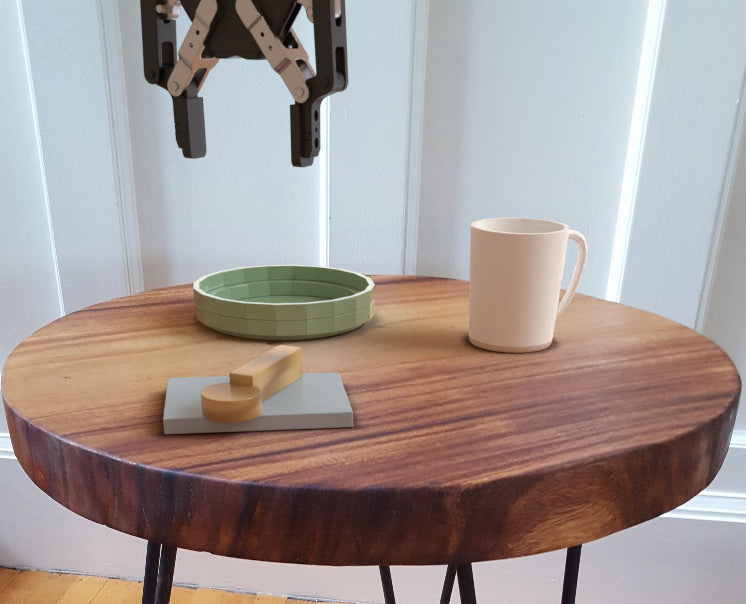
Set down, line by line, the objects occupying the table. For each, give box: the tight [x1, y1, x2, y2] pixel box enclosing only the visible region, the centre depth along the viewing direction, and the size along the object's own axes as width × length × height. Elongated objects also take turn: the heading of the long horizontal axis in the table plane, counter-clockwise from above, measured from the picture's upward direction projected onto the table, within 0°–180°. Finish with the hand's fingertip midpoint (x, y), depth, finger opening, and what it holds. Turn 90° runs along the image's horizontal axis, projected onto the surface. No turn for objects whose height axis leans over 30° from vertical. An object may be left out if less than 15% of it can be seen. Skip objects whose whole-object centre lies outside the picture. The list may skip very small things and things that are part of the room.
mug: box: [468, 217, 589, 354], centre depth 90 cm, size 11×9×10 cm
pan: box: [192, 264, 376, 341], centre depth 98 cm, size 18×18×4 cm
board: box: [162, 371, 354, 435], centre depth 75 cm, size 14×10×1 cm
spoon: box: [201, 344, 303, 422], centre depth 73 cm, size 12×4×2 cm, turn 158°
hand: (248, 161), depth 67 cm, fingers open, 8 cm apart
